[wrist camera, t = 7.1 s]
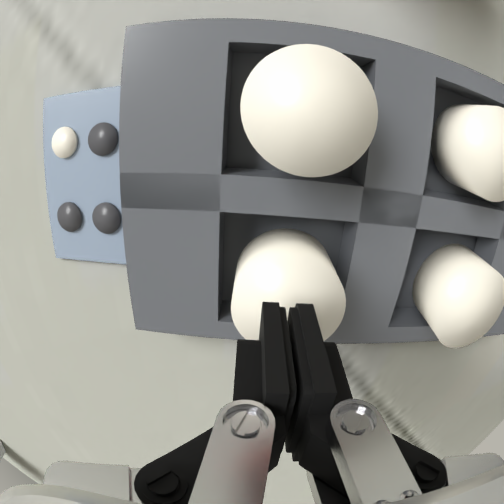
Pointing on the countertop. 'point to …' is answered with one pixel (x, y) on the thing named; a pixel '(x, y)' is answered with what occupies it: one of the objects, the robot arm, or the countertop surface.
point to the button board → (258, 178)
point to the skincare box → (1, 450)
